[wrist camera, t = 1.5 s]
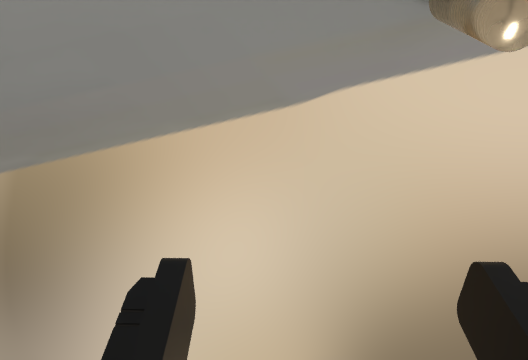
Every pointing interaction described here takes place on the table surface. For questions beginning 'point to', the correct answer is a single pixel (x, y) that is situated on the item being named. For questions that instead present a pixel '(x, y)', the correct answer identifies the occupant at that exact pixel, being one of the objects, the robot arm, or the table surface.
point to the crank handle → (487, 20)
